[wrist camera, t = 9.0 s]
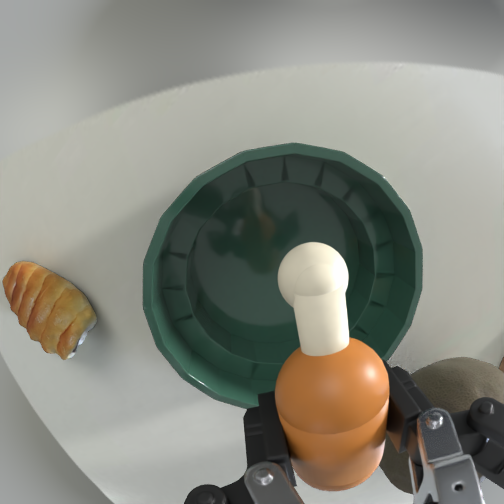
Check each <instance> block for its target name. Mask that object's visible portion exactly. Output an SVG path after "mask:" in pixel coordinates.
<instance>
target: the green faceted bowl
mask: <svg viewBox="0 0 504 504" xmlns="http://www.w3.org/2000/svg"><path fill="white" fill-rule="evenodd" d="M309 242H317V243H323V244H326V245H328V246H330V247H332V248H333V249H335V250H336V251H337V252H338V253H339V254H340V255H341V257H342V258H343V259H344V261H345V263H346V266H347V269H348V286H347V289H346V292H345V298H346V308H347V318H348V330H349V337H351V338H354V339H357V340H359V341H362V342H363V343H365V344H366V345H368V346H369V347H370V348H372V349H373V350H374V351H375V352H376V354H377V355H378V356H379V357H380V359H381V360H382V359H383V360H385V361H387V360H388V359H389V358H390V357H391V355H392V354H393V352H394V351H395V349H396V348H397V346H398V345H399V343H400V342H401V340H402V339H403V337H404V336H405V334H406V332H407V331H408V329H409V328H410V326H411V323H412V320H413V317H414V314H415V311H416V308H417V305H418V301H419V298H420V295H421V291H422V276H423V253H422V246H421V243H420V239H419V236H418V233H417V230H416V227H415V224H414V221H413V218H412V215H411V212H410V210H409V209H408V207H407V206H406V205H405V203H404V202H403V201H402V199H401V198H400V197H399V195H398V194H397V193H396V191H395V190H394V189H393V188H392V186H391V185H390V184H389V183H388V181H387V180H386V179H385V178H384V177H383V176H382V175H381V174H379V173H378V172H376V171H374V170H373V169H371V168H370V167H368V166H366V165H365V164H363V163H362V162H360V161H358V160H357V159H355V158H353V157H352V156H350V155H348V154H347V153H345V152H342V151H337V150H332V149H327V148H322V147H317V146H312V145H306V144H301V143H288V144H281V145H275V146H269V147H263V148H257V149H251V150H246V151H243V152H240V153H238V154H236V155H234V156H232V157H231V158H229V159H227V160H225V161H223V162H221V163H220V164H218V165H216V166H214V167H212V168H211V169H209V170H207V171H205V172H204V173H202V174H200V175H198V176H197V177H196V178H194V179H193V180H192V182H191V183H190V184H189V185H188V186H187V187H186V188H185V189H184V191H183V192H182V193H181V194H180V195H179V196H178V197H177V199H176V200H175V201H174V202H173V203H172V204H171V205H170V207H169V208H168V209H167V210H166V211H165V213H164V214H163V215H162V217H161V218H160V220H159V223H158V225H157V228H156V230H155V233H154V235H153V238H152V241H151V243H150V246H149V248H148V251H147V254H146V256H145V259H144V263H143V310H144V313H145V316H146V319H147V322H148V324H149V327H150V330H151V333H152V336H153V338H154V341H155V344H156V346H157V348H158V349H159V351H160V352H161V353H162V354H163V356H164V357H165V358H166V359H167V361H168V362H169V363H170V364H171V366H172V367H173V368H174V369H175V371H176V372H177V373H178V374H179V375H180V377H181V378H183V379H184V380H185V381H187V382H188V383H190V384H191V385H193V386H194V387H196V388H197V389H199V390H200V391H202V392H203V393H205V394H207V395H208V396H210V397H211V398H213V399H215V400H218V401H221V402H224V403H227V404H231V405H234V406H238V407H241V408H245V409H248V408H252V407H257V406H259V403H258V394H261V393H266V392H270V391H275V387H276V381H277V378H278V374H279V372H280V370H281V368H282V366H283V364H284V363H285V361H286V360H287V359H288V358H289V356H290V355H291V354H292V353H293V352H294V351H295V350H296V349H298V348H299V347H300V346H301V345H300V340H299V334H298V329H297V323H296V318H295V312H294V308H293V307H292V306H291V305H289V304H288V303H287V302H286V300H285V299H284V298H283V296H282V294H281V292H280V289H279V286H278V271H279V267H280V264H281V262H282V260H283V258H284V257H285V256H286V254H287V253H288V252H289V251H291V250H292V249H293V248H295V247H297V246H299V245H301V244H304V243H309Z"/></svg>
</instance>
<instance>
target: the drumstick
mask: <svg viewBox="0 0 504 504" xmlns="http://www.w3.org/2000/svg"><path fill="white" fill-rule="evenodd" d="M278 286H279V289H280V292H281V294H282V296H283V298H284V299H285V300H286V302H287V303H288V304H289V305H291V306H292V307H293V308H294V312H295V318H296V323H297V329H298V334H299V340H300V345H301V346H300V347H299V348H298V349H296V350H295V351H294V352H293V353H292V354H291V355H290V356H289V358H288V359H287V360H286V361H285V363H284V364H283V366H282V368H281V370H280V372H279V374H278V378H277V381H276V387H275V401H276V407H277V411H278V415H279V418H280V421H281V424H282V428H283V431H284V435H285V439H286V443H287V447H288V450H289V454H290V458H291V463H292V466H293V468H294V470H295V472H296V473H297V475H298V476H299V477H300V478H301V479H302V480H303V481H304V482H305V483H307V484H308V485H310V486H312V487H313V488H316V489H319V490H324V491H342V490H347V489H350V488H352V487H355V486H357V485H359V484H361V483H362V482H364V481H365V480H366V479H367V478H369V477H370V476H371V475H372V473H373V472H374V471H375V470H376V468H377V467H378V465H379V463H380V461H381V459H382V456H383V452H384V445H385V437H386V427H387V417H388V405H389V379H388V373H387V371H386V368H385V366H384V364H383V362H382V360H381V359H380V357H379V356H378V355H377V354H376V352H375V351H374V350H373V349H372V348H370V347H369V346H368V345H366V344H365V343H363V342H362V341H359V340H357V339H354V338H351V337H349V330H348V318H347V308H346V298H345V292H346V289H347V286H348V269H347V266H346V263H345V261H344V259H343V258H342V257H341V255H340V254H339V253H338V252H337V251H336V250H335V249H333V248H332V247H330V246H328V245H326V244H323V243H317V242H309V243H304V244H301V245H299V246H297V247H295V248H293V249H292V250H291V251H289V252H288V253H287V254H286V256H285V257H284V258H283V260H282V262H281V264H280V267H279V271H278Z"/></svg>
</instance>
